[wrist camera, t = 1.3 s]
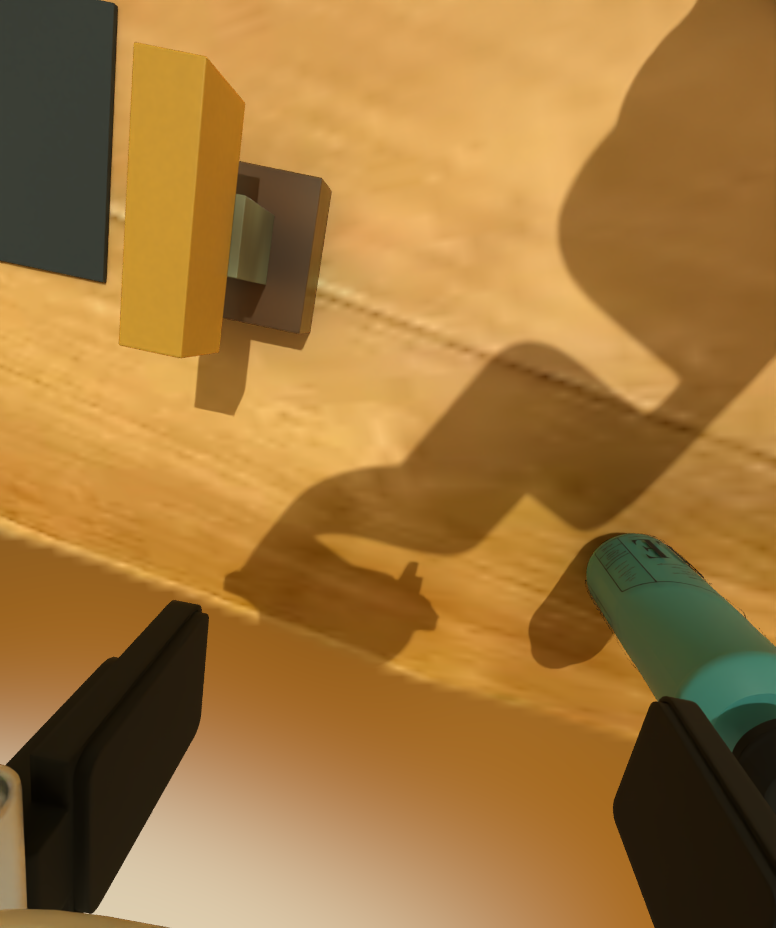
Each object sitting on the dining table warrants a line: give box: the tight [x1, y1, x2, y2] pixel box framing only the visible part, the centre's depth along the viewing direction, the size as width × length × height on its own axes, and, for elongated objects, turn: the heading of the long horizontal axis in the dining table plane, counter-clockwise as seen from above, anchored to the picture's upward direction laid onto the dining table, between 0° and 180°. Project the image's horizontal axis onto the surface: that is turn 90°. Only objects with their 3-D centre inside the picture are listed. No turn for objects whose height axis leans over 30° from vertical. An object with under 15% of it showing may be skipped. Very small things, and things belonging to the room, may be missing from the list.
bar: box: [119, 42, 245, 358], centre depth 24 cm, size 12×3×4 cm, turn 169°
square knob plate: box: [223, 161, 331, 334], centre depth 30 cm, size 9×9×8 cm
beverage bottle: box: [585, 533, 776, 814], centre depth 28 cm, size 6×7×20 cm
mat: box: [0, 0, 118, 282], centre depth 33 cm, size 16×10×1 cm, turn 169°
